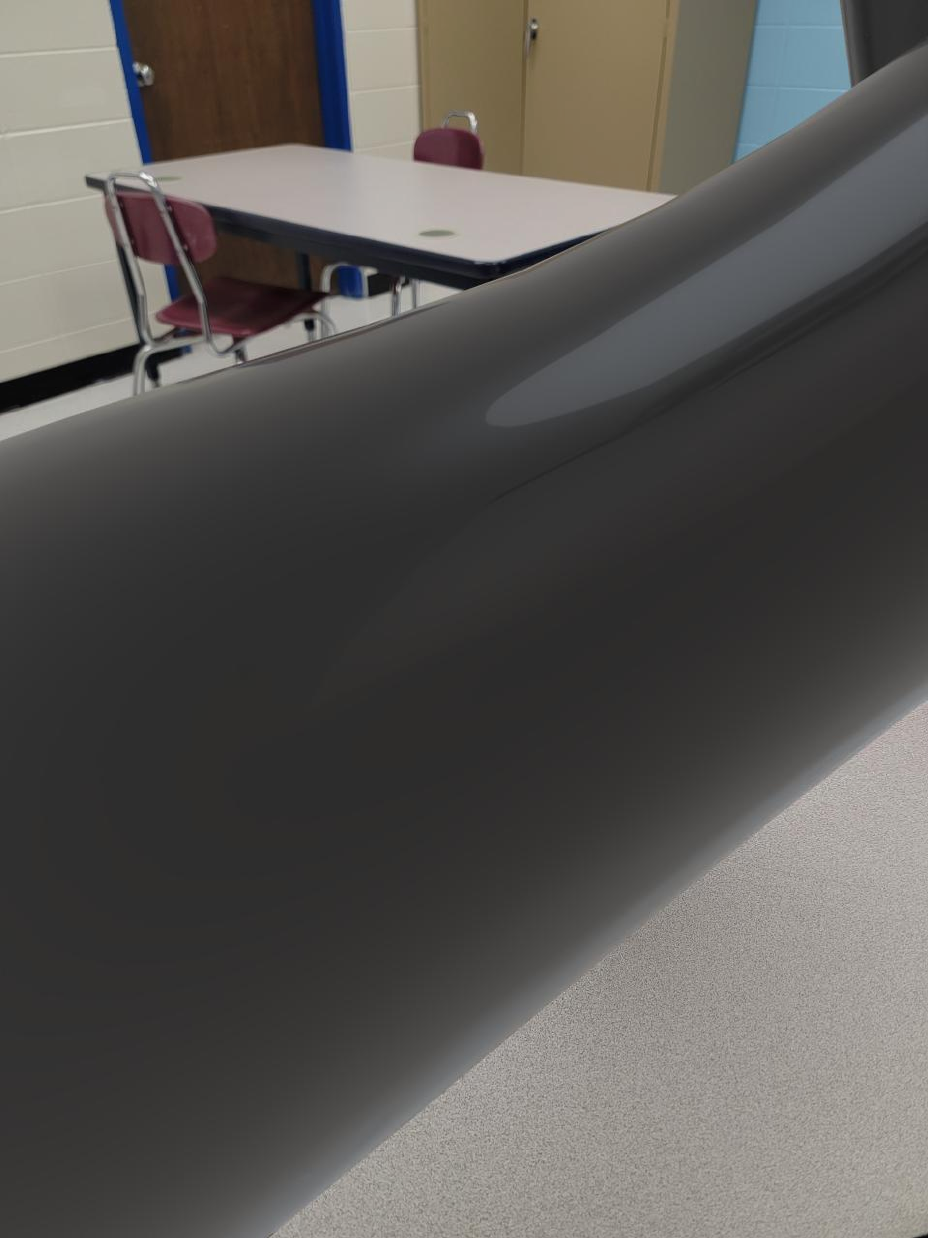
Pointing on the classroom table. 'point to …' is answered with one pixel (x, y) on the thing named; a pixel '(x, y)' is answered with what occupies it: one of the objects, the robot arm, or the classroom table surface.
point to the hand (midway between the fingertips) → (534, 764)
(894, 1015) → the classroom table surface
